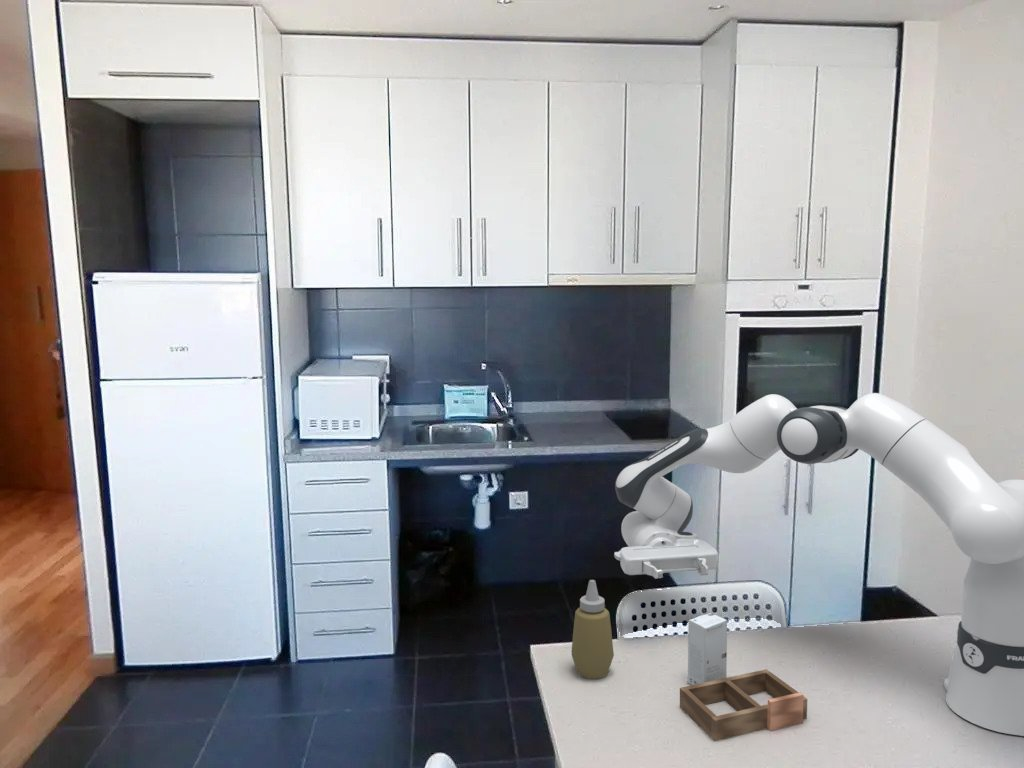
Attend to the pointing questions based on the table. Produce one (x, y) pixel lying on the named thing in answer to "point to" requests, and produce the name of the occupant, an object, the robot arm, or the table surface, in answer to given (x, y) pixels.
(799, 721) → the wooden compartment holder
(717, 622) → the skincare box
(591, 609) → the squeeze bottle
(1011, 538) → the robot arm
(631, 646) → the table surface
